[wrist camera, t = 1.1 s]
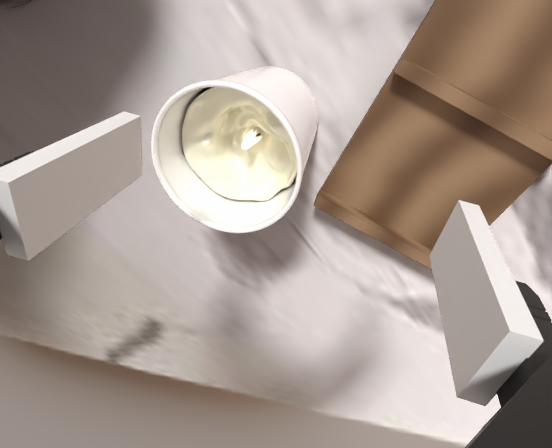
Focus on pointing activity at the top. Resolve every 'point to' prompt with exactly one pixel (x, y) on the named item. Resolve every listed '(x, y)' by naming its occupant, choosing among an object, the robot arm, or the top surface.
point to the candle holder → (236, 147)
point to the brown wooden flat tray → (450, 125)
